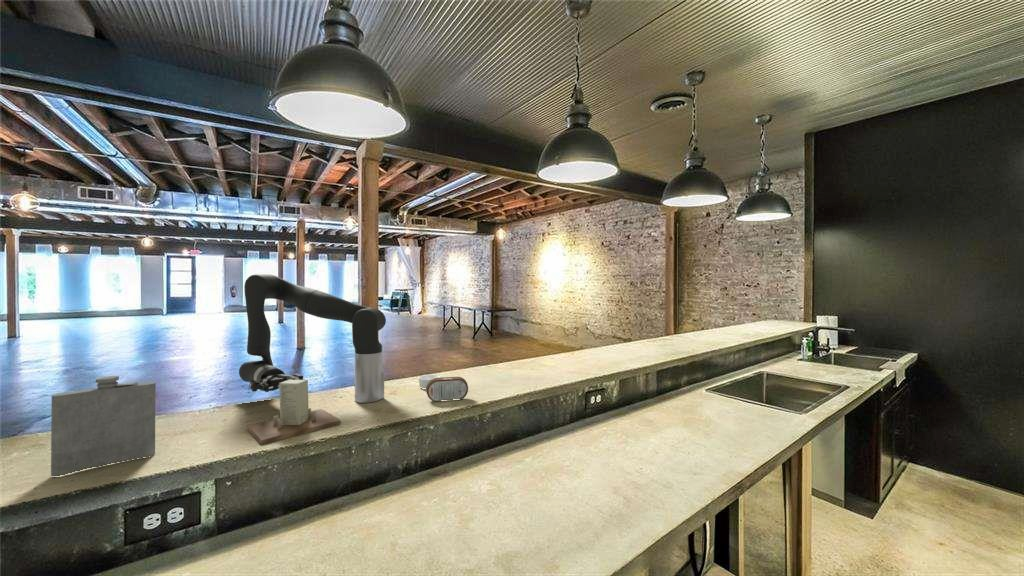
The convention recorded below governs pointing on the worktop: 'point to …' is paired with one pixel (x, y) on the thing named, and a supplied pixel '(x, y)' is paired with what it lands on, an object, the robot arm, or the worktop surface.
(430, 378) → the ramekin
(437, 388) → the tin
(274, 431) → the pin tray
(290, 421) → the skincare box
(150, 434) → the hip flask
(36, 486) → the worktop surface
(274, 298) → the robot arm
